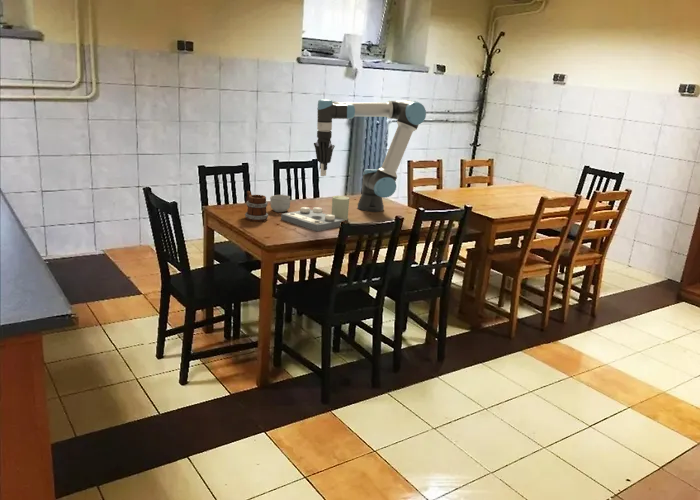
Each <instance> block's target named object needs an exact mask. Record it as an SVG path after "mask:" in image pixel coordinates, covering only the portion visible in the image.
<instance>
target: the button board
mask: <svg viewBox="0 0 700 500" xmlns="http://www.w3.org/2000/svg"><path fill="white" fill-rule="evenodd" d="M325 215H327V214H326V213H325V212H322V213H313V209H311V208H310V213H302V212H300V210H298V211H295V210H294V211H289V212H285V213H284V212H283V213H281V215H280V217H281V218H280V219H281V220H282V221H284V222H287V223H290V224H294V225H296V226H299V227H303V228H306V229H309V230H312V231H314V232H320V231H321V232H322V231H324V230H329V229H335V228H338V227H339V226H340V223H341V222H342V221H345V220H344V219H341V218H337V217H335V220H334V221H328V220H325ZM345 222H346V221H345ZM340 227H341V226H340Z"/></svg>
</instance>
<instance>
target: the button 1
mask: <svg viewBox="0 0 700 500" xmlns="http://www.w3.org/2000/svg"><path fill="white" fill-rule="evenodd" d="M310 209H311V208H310V207H308V206H302V207H300V209H299V211H300V212H302V213H310Z"/></svg>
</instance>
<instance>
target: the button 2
mask: <svg viewBox="0 0 700 500" xmlns="http://www.w3.org/2000/svg"><path fill="white" fill-rule="evenodd" d="M325 220H328V221H334V220H335V215H331V213H330V214H329V213H328V214H327V215H325Z"/></svg>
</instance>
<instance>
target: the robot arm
mask: <svg viewBox="0 0 700 500" xmlns="http://www.w3.org/2000/svg"><path fill="white" fill-rule="evenodd" d="M426 116H427V110H426V108H425V106H424V105H423V103H421V102H418V101H416V100H409V99H400V100H388V101H387V102H371V101H370V102H364V101H362V102H360V101H358V102H357V101H354V102H353V101H334V100H332V99H319V100H318V102H317V121H316V122H317V123H316V126H317V130H316V138H317V141H316V142H314V143H313V146H314V150H315V156H316V157H315V158H316V161H317V162H319V169H320V177H325V176H327V170H328V164H330V163H331V161H332V156H333V152H334V148H335V146H336V145H335V144H333V143H332V129H333V120H335V119H336V120H349V119H350V120H351V119H354V117H366V118H367V117H369V118H370V117H377V118H379V117H380V118H383V117H384V118H385V117H386V118H387V119H391V120H392V119H393V120H396V124H397V128H396V129H395V133H394V135H393V138H392V140H391V143H390V145H389V148H388V150H387V153H386V154H385V157H384V161H383V163H382V165H381V167H379V168H377V169H376V168H375V169H374V168H372V169H371V168H366V169H364V170H363V173H362V185H361V195H360V198H359V200H358V203H357V209H358V210H361V211H364V212H372V213H373V212H383V211H384V207H385V205H384V202H383V199H385V198H390V197H392V196H393V194H394V193H396V190H397V180H398V179H397V178H398V175H397V172H398V169H399V167H400V164H401V161H402V160H403V157H404V154H405V153H406V149H407V148H408V147H407V146H408V145H409V142H410V140H411V137H412V135H413V133H414V132H416V131H417V130H418V128H419V125H421V124H422V123H423V122H424V121H425V119H426Z"/></svg>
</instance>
